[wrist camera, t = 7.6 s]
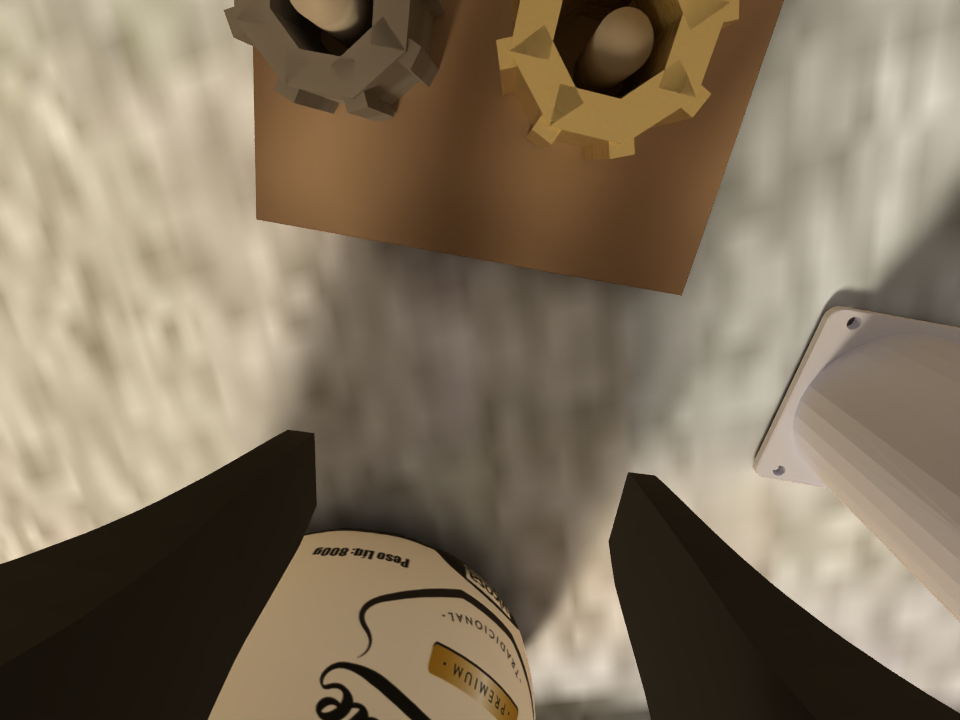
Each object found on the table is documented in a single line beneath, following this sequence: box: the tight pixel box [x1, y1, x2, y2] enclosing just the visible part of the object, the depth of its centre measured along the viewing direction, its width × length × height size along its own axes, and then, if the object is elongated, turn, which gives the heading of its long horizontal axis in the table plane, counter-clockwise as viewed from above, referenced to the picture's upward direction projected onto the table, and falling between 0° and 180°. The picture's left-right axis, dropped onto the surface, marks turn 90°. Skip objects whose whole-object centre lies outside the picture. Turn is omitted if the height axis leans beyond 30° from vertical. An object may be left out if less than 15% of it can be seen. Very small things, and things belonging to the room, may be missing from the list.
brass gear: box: [496, 0, 739, 160], centre depth 13 cm, size 5×5×5 cm
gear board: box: [224, 0, 784, 295], centre depth 14 cm, size 16×11×5 cm
